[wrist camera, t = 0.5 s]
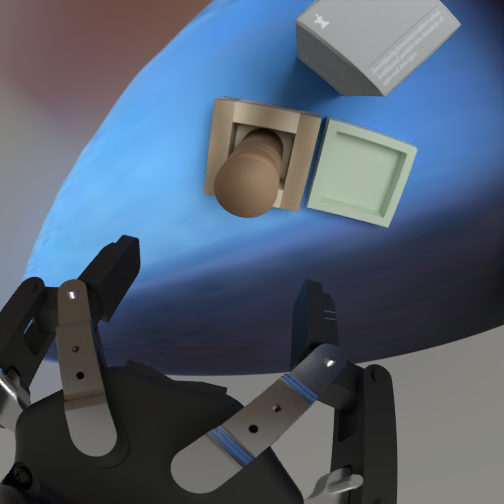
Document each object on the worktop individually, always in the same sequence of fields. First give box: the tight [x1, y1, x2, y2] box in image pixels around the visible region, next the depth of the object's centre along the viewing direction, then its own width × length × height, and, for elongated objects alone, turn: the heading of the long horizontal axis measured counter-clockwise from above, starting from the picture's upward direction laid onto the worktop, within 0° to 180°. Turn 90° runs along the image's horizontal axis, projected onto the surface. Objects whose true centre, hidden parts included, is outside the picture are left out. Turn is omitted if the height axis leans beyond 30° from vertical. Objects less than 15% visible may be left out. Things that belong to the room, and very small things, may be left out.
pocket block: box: [204, 97, 322, 212], centre depth 28 cm, size 10×10×4 cm
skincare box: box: [296, 0, 461, 97], centre depth 16 cm, size 8×7×16 cm
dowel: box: [214, 128, 283, 218], centre depth 25 cm, size 4×4×12 cm
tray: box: [306, 116, 418, 227], centre depth 29 cm, size 10×10×2 cm
